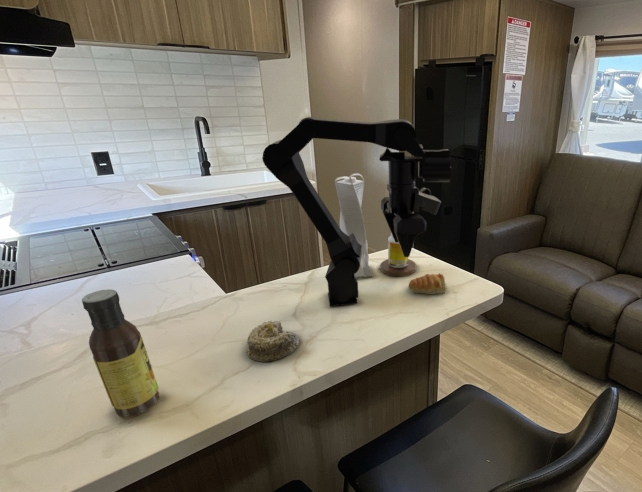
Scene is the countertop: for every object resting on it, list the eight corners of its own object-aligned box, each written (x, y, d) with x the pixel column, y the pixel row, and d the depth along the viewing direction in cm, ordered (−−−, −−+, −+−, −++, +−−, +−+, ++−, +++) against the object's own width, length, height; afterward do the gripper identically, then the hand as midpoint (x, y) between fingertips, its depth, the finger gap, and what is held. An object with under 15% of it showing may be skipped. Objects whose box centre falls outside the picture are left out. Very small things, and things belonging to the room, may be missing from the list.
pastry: (411, 297, 98) (411, 283, 97) (406, 284, 104) (406, 271, 103) (448, 293, 100) (448, 279, 99) (440, 281, 106) (441, 268, 105)
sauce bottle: (169, 399, 65) (137, 292, 57) (128, 425, 60) (86, 311, 52) (146, 386, 68) (112, 281, 60) (105, 409, 63) (62, 299, 55)
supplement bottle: (410, 267, 111) (411, 232, 107) (391, 270, 110) (391, 234, 105) (404, 259, 116) (404, 226, 112) (386, 262, 114) (385, 228, 110)
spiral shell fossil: (263, 372, 73) (256, 348, 70) (238, 349, 79) (230, 327, 76) (309, 345, 79) (304, 322, 77) (283, 326, 85) (277, 304, 83)
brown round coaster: (384, 278, 108) (384, 274, 107) (377, 263, 116) (377, 259, 116) (420, 274, 110) (420, 270, 110) (410, 260, 119) (411, 256, 119)
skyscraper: (373, 279, 107) (370, 174, 95) (342, 282, 105) (335, 175, 93) (368, 266, 114) (364, 167, 103) (339, 269, 112) (332, 168, 101)
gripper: (452, 190, 80) (448, 261, 86) (425, 171, 96) (424, 233, 103) (397, 193, 77) (397, 266, 83) (379, 173, 93) (381, 236, 100)
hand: (401, 249), depth 92 cm, fingers open, 9 cm apart
